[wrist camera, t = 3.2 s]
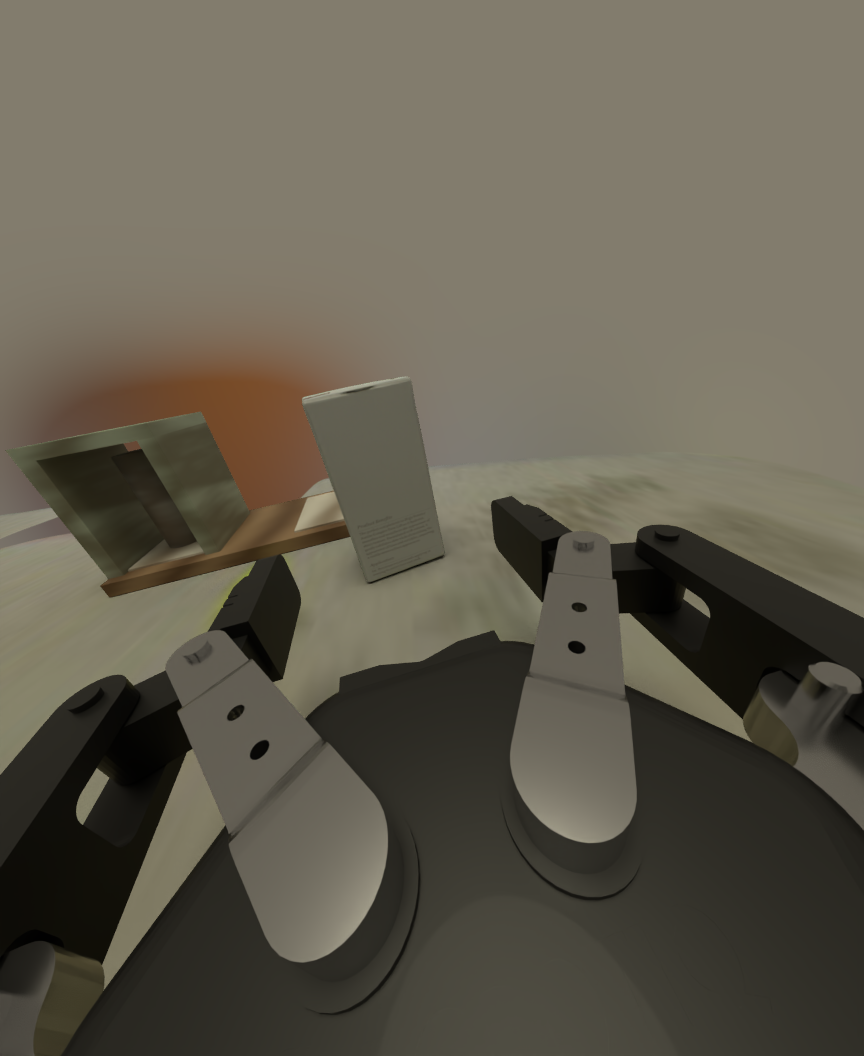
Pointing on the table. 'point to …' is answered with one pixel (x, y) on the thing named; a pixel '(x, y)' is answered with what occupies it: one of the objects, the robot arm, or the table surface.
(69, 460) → the board
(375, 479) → the skincare box
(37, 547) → the table surface
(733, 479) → the table surface
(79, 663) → the table surface
